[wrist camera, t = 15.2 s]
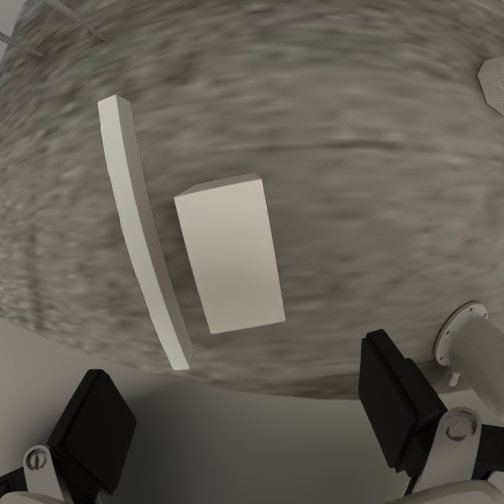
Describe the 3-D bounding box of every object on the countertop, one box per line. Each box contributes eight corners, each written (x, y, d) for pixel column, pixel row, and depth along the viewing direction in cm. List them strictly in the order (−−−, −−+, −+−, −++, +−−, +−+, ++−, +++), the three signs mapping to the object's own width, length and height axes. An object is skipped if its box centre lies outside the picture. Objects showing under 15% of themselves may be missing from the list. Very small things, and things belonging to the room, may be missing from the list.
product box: (253, 172, 28) (261, 179, 18) (271, 272, 31) (285, 321, 22) (192, 184, 28) (170, 198, 18) (216, 282, 31) (208, 334, 22)
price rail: (193, 348, 34) (189, 368, 30) (176, 350, 34) (170, 370, 30) (130, 101, 25) (115, 94, 21) (111, 108, 25) (94, 103, 21)
